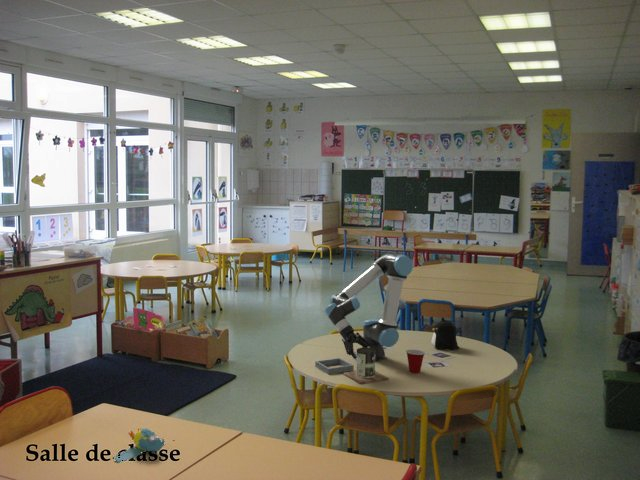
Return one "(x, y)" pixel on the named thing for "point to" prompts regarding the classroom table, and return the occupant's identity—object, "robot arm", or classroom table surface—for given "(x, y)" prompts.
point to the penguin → (444, 335)
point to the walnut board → (360, 380)
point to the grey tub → (343, 368)
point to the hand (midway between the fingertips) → (367, 360)
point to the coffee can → (366, 362)
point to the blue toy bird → (141, 444)
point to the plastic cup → (415, 360)
